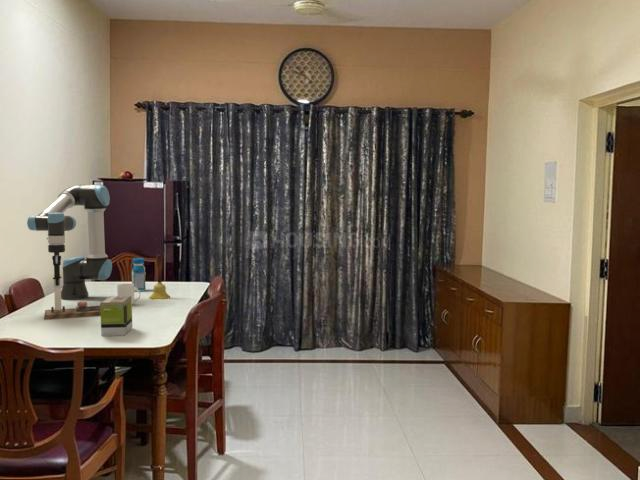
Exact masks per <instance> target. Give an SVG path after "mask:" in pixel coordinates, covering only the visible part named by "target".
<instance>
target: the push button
mask: <svg viewBox="0 0 640 480" xmlns="http://www.w3.org/2000/svg"><path fill="white" fill-rule="evenodd" d="M78 306H88V302H87V301H79V302H78V301H77V306H76V307H78Z"/></svg>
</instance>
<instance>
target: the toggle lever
mask: <svg viewBox="0 0 640 480" xmlns="http://www.w3.org/2000/svg"><path fill="white" fill-rule="evenodd" d="M53 288H54V289H53V290H54V295H53V296H54V309H55V310H62V309H63V308H62V299H61V290H62V287H61V286H60V287H53Z"/></svg>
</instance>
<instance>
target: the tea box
mask: <svg viewBox="0 0 640 480" xmlns="http://www.w3.org/2000/svg"><path fill="white" fill-rule="evenodd" d="M99 306H100V311H101V316H100V333H101V337H123V336H124V337H125V336H126V334H128V332H130V331H131V330H132V329H133V307H132V301H131V296H116V295H115V296H111V295H110V296H108V297H107V298H105V299H104V300H102V301H101V302H100V303H99Z"/></svg>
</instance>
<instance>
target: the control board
mask: <svg viewBox="0 0 640 480" xmlns="http://www.w3.org/2000/svg"><path fill="white" fill-rule="evenodd" d="M61 309H62V310H55V306H51V307H50V309H45V310H44V317H43V318H44V320H54V319H55V320H56V319H57V320H58V319H70V318H85V317H86V318H87V317H101V311H100V305H87V306H76V307H73V308H66V307H65V306H64V305H62V308H61Z"/></svg>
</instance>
